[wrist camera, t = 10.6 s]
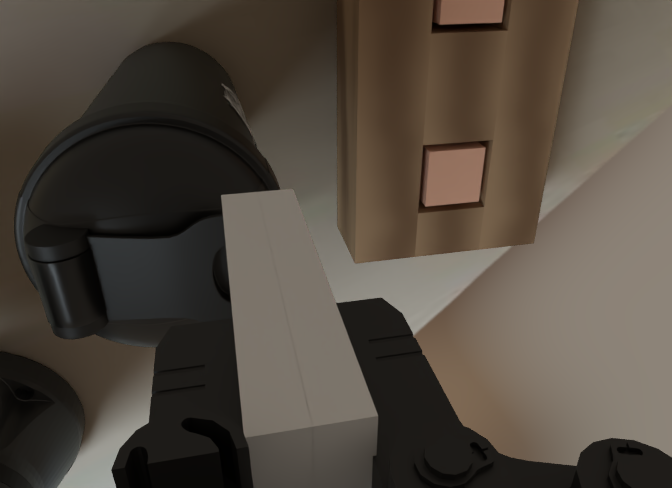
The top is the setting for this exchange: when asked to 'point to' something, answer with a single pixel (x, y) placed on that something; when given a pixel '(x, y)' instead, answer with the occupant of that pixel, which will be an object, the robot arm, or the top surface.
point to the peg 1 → (467, 11)
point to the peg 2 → (451, 173)
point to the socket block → (444, 121)
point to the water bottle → (140, 201)
